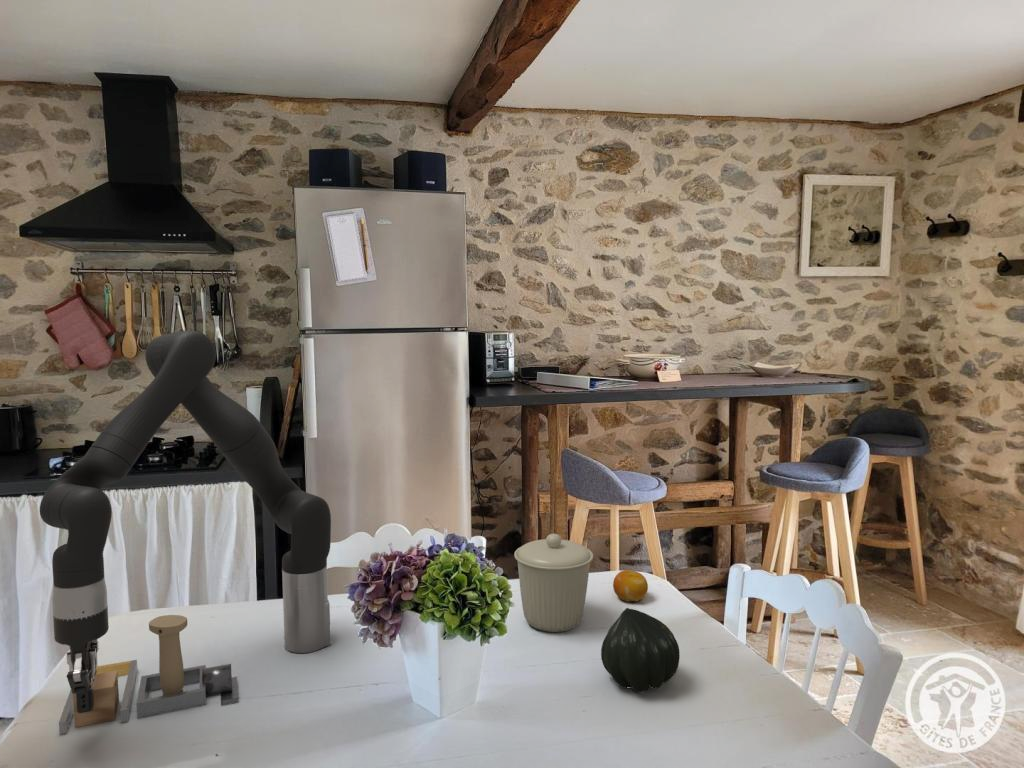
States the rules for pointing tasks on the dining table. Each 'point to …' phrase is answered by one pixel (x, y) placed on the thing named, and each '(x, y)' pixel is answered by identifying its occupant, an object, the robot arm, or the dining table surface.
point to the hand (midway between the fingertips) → (85, 709)
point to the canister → (553, 582)
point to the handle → (169, 651)
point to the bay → (131, 671)
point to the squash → (640, 651)
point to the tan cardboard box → (100, 700)
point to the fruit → (630, 585)
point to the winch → (209, 684)
